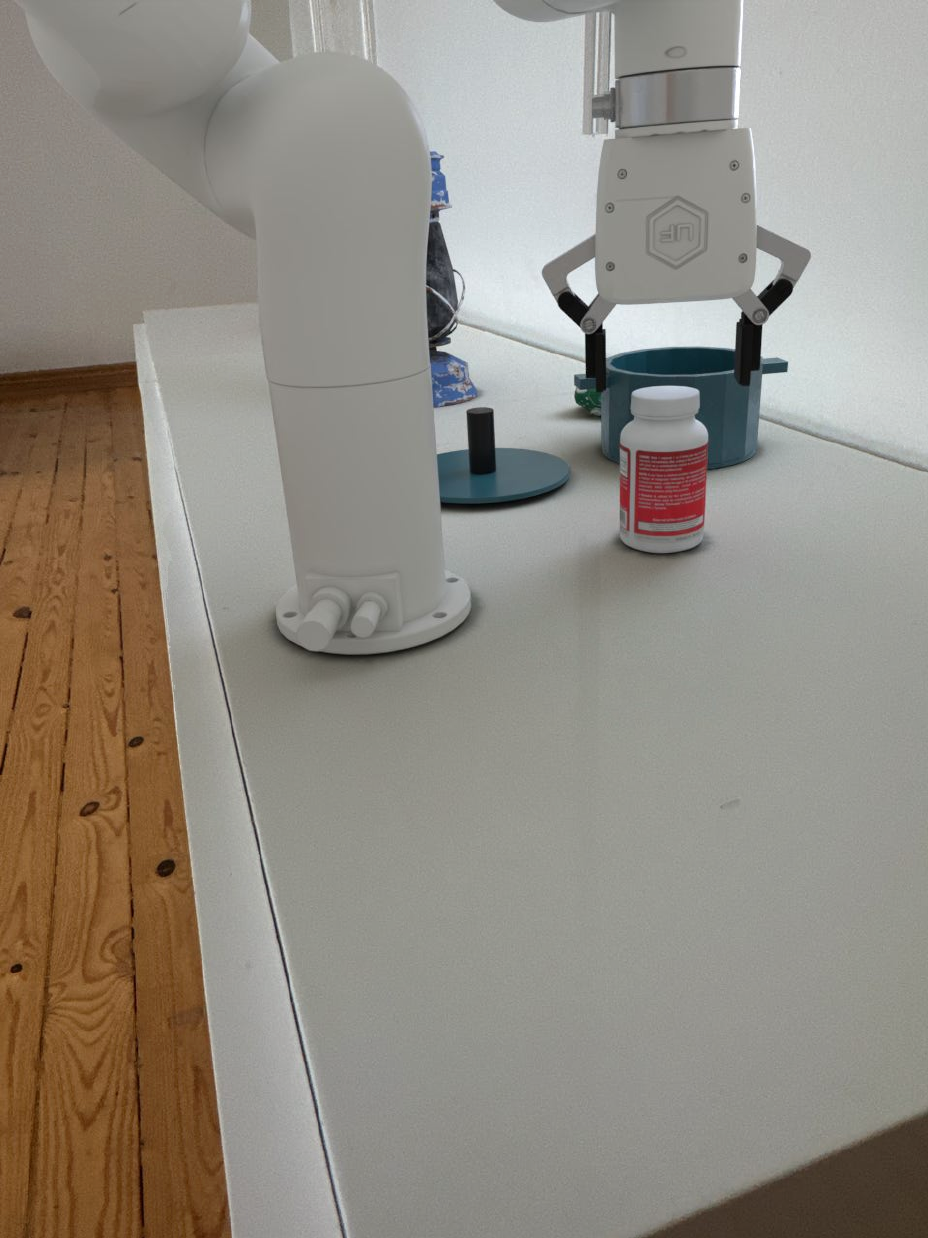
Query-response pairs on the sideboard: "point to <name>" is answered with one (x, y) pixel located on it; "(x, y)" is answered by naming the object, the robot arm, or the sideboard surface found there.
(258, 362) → the sideboard surface
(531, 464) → the pot lid
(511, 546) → the sideboard surface
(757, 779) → the sideboard surface
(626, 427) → the pill bottle
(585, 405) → the gaming controller
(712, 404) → the teal cooking pot
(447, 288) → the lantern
